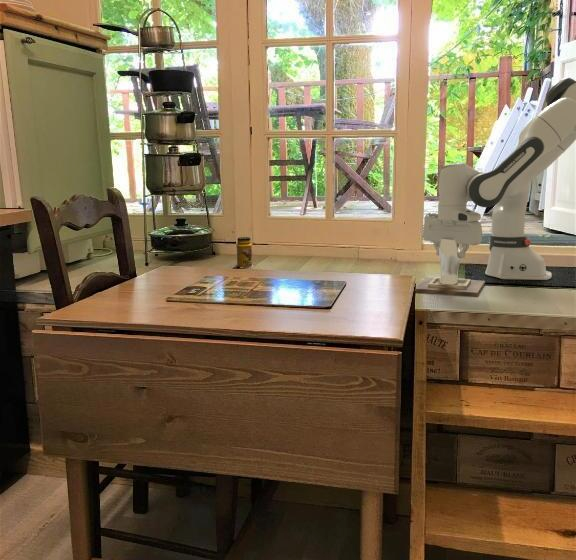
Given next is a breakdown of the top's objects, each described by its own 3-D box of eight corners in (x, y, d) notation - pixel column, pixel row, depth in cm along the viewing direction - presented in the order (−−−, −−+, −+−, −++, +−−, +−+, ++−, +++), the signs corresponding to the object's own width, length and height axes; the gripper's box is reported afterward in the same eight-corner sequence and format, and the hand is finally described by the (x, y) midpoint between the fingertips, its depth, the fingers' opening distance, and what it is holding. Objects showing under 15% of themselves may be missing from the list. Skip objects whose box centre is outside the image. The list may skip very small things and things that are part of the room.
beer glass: (445, 286, 199) (447, 239, 197) (433, 283, 205) (435, 238, 203) (464, 285, 201) (466, 239, 199) (451, 282, 208) (453, 237, 205)
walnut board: (484, 284, 209) (485, 277, 209) (477, 296, 191) (477, 289, 191) (425, 280, 217) (425, 274, 217) (412, 292, 199) (412, 285, 199)
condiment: (252, 268, 248) (251, 238, 246) (230, 268, 249) (229, 238, 247) (254, 265, 256) (253, 236, 253) (233, 265, 256) (232, 236, 254)
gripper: (419, 213, 205) (418, 254, 208) (474, 216, 190) (473, 261, 193) (430, 211, 209) (429, 252, 212) (485, 215, 194) (483, 258, 197)
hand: (450, 256), depth 202 cm, fingers closed on beer glass, 7 cm apart
